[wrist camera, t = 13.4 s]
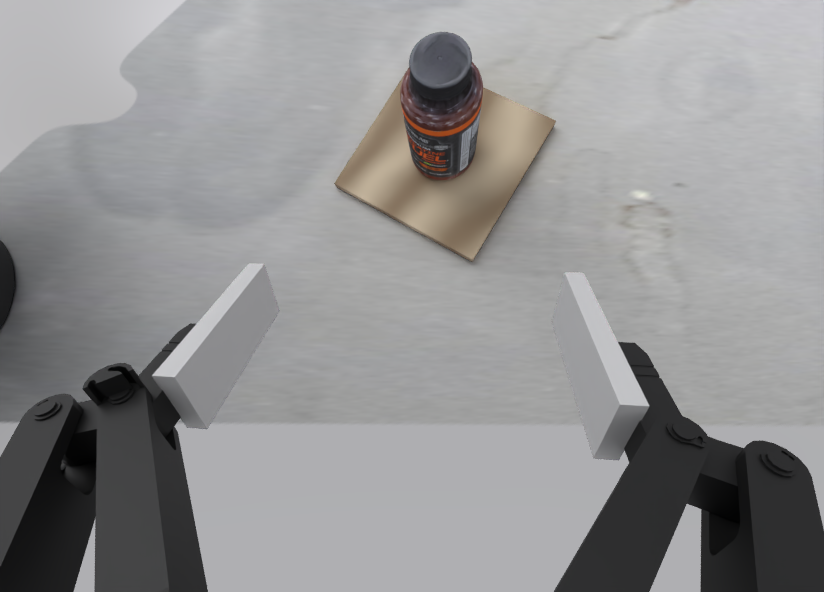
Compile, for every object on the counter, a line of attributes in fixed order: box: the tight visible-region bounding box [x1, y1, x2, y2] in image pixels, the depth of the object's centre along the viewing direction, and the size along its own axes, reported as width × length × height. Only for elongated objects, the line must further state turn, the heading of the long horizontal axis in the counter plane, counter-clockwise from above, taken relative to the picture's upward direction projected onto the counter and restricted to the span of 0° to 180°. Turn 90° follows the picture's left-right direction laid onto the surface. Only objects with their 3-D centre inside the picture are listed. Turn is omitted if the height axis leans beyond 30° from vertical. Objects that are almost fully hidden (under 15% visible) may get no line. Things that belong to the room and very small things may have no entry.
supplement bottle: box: [400, 32, 483, 180], centre depth 29 cm, size 6×6×11 cm
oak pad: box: [334, 68, 556, 262], centre depth 35 cm, size 15×15×1 cm
